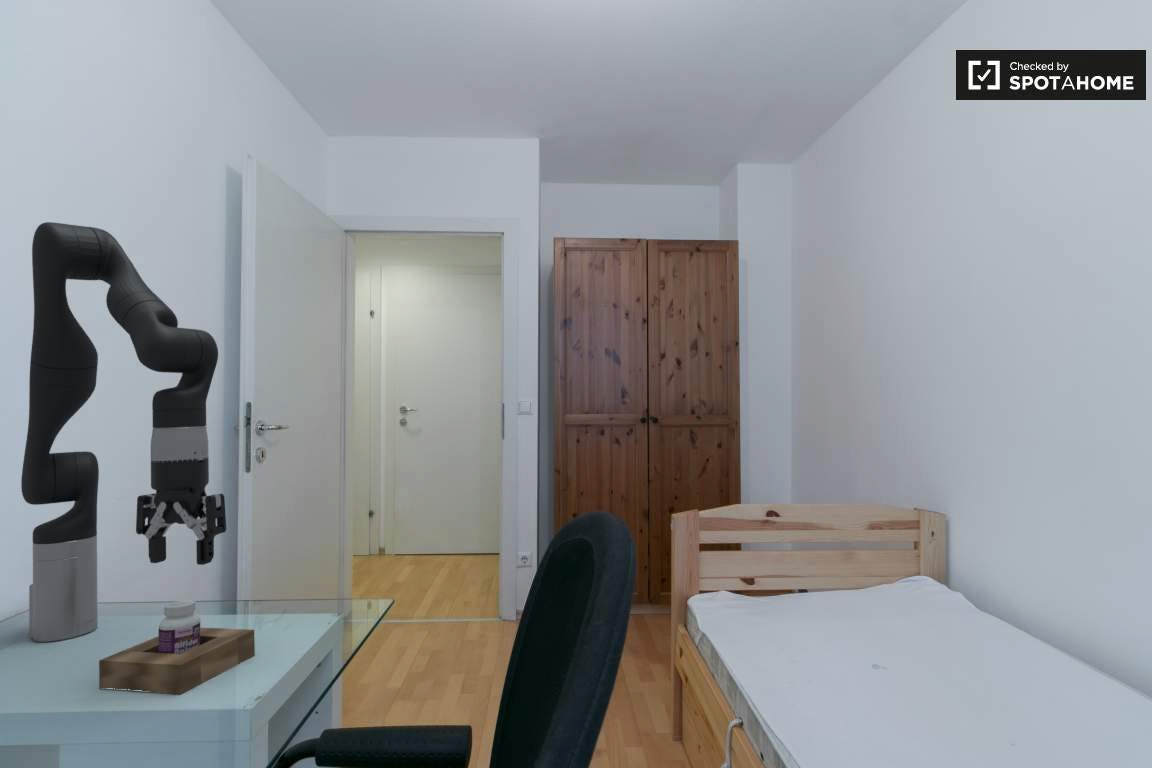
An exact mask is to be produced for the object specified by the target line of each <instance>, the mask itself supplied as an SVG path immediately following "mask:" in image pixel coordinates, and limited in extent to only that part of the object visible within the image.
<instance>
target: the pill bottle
mask: <svg viewBox="0 0 1152 768" xmlns="http://www.w3.org/2000/svg"><path fill="white" fill-rule="evenodd" d="M195 610H196V601H195V600H192V599H190V600H189V599H188V600H186V599H185V600H179V601H173V602H170V603H167V604H165V605H164V610H163V611H164V612H163V615H164V617H165V618H164V619H162V620H161V621H160V623H159V625H158V636H159V637H158V636H157V637H158V653H168V654H182V653H184V652H186V651H189V650H191V649H193V648H195V647H197V646H200V628H201V617H200V616H199V615H198V614H197V613H195Z"/></svg>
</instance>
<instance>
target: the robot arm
mask: <svg viewBox="0 0 1152 768" xmlns="http://www.w3.org/2000/svg"><path fill="white" fill-rule="evenodd" d="M31 246H32V249H31V258H32V261H31V262H32V263H31V264H32V287H33V330H32V340H31V351H30V365H29V384H28V385H29V388H28V389H29V391H28V392H29V393H28V395H29V399H28V400H29V401H28V402H29V403H28V406H29V409H28V424H27V434H26V441H25V449H24V455H23V462H22V463H23V464H22V471H21V480H20V481H21V484H20V486H21V494H22V498H23V500H24V501H25V502H26V503H27V504H29V505H33V506H34V505H35V506H36V505H37V506H38V505H48V504H49V505H51V504H58V503H61V504H62V503H70V502H74V503H73V506H72V507H71V508H70V509H69V510H68V511H66V512H65V513H63V514H62V515H60V516H58V517H56V518H52V519H51V520H49V521H46V522H44V523H40V524H39V525H37V526H35V527H34V528H33V529H32V530H33V531H32V583H31V584H30V585H29V587H28V588H29V589H28V595H29V596H28V599H29V600H28V603H29V604H28V607H29V608H28V610H29V611H28V614H29V615H28V618H29V619H28V620H29V625H28V627H29V628H28V630H29V632H28V633H29V634H28V635H29V636H28V637H29V638H30V639H32V640H33V641H34V642H39V643H40V642H41V643H43V642H56V641H61V640H67V639H71V638H75V637H79V636H81V635H82V636H83V635H85V634H88V633H91V632H93V631H95V630H96V629H97V628H98V494H99V477H100V476H99V475H100V474H99V473H100V471H99V470H100V469H99V461H98V459H97V456H96V455H95V454H94V453H93V452H92V451H87V450H86V451H84V450H83V451H69V452H68V451H66V452H53V453H52V452H51V450H52V446H53V444H54V442H55V440H56V438H57V436H58V435H59V433H60V432H61V430H62V429H63V428H64V426H65V425H66V424H67V423H68V422H69V420H70V419H71V418H72V417H74V416H75V414H76V413H78V412H79V410H80V409H81V408H82V407H83V406H84V405H85V404H86V403H87V402H88V400H89V399H90V398H91V396H92V395H93V393H94V392H95V390H96V386H97V375H98V365H99V364H98V363H99V355H98V351H97V348H96V346H95V345H94V343H93V342H92V339H91V338H90V337H89V335H88V333H86V331H85V330H84V328H83V327H82V326H81V324H80V323H79V322H78V320H77V319H76V317H75V315H74V314H73V312H72V311H71V310H72V309H71V308H70V304H69V303H68V302H69V301H68V297H67V288H66V285H67V280H75V281H76V280H77V281H102V282H104V283H107V285H109V288H108V290H107V293H106V299H105V300H106V301H105V303H106V308H107V309H108V312H109V314H110V315H111V317H112V318H113V319H114V320H115V321H116V323H117V324H119V326H120V327H121V328H122V330H124V331H125V332H126V333H127V334H128V335H129V337H130V340H131V342H132V345H133V348H134V351H135V353H136V356H137V359H138V360H139V363H141V364H142V365H143V366H144V368H145V367H146V368H147V369H149V370H151V371H154V372H156V373H167V374H168V373H173V374H174V373H175V374H176V373H177V374H181V377H180V380H178V381H179V382H178V383H177V385H176V386H174V387H169V388H164V389H159V390H158V391H156V392H155V393H154V394H153V396H152V401H151V402H152V405H151V406H152V408H151V409H152V433H151V438H150V487H151V489H153V490H155V493H147V494H142V495H139V496H137V500H136V503H137V504H136V517H135V518H136V520H135V522H136V523H135V533H136V534H137V535H143V536H145V538H146V539H147V541H148V558H149V563H151V564H158V563H161V562H164V561H166V560H167V536H165V534H166V533H167V532H168V530H169V528H170V527H171V526H172V525H174V524H179V525H185V526H186V527H187V528H188V529H190V530H192V532H193V533H194V534H195V536H196V537H197V539H198V540H195V541H196V564H197V565H198V566H199V565H200V566H204V565H207V564H209V563H211V562H212V561H213V559H214V557H215V537H217V535H219V534H223V533H225V532H226V531H227V516H226V504H225V503H226V501H225V495H224V494H223V493H215V494H210V495H207V493H206V487H207V485H208V484H209V483H210V477H209V475H210V473H209V472H210V471H209V469H210V468H209V466H210V463H209V462H210V460H209V459H210V458H209V436H208V431H207V399H208V395H209V393H210V388H211V384H212V381H213V378H214V373H215V371H216V367H217V364H218V359H219V348H218V345H217V343H216V340H215V338H214V337H213V336H212V335H211V334H210V333H209V332H208V331H206V330H202V329H195V328H187V327H185V328H184V327H178V325H179V321H178V318H177V316H176V314H175V313H174V311H173V310H172V309H171V308H170V307H169V306H168V305H167V304H166V303H165V302H164V301H163V300H162V299H161V298H160V297H159V296H158V295H156V293H155V292H153V291H152V290H151V288H150V287H149V286H148V285H147V284H146V283H145V281H144V279H143V278H142V277H141V275H140V273H139V272H138V271H137V269H136V267H135V266H134V264H133V262H132V261H131V259H130V258H129V256H128V255H127V253H126V252H125V250H124V249H123V247H122V245H121V244H120V243H119V241H118V240H117V239H116V238H115V236H114V235H112V234H111V233H109V232H108V231H106V230H104V229H102V228H97V227H94V226H93V227H92V226H83V225H77V224H68V223H60V222H52V221H51V222H50V221H47V222H43V223H41V224H39V225H38V226H37V228H36V230H35V231H34V234H33V238H32V245H31ZM50 452H51V453H50ZM146 519H147V524H146Z"/></svg>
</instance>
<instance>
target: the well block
mask: <svg viewBox="0 0 1152 768" xmlns="http://www.w3.org/2000/svg"><path fill="white" fill-rule="evenodd" d="M158 637H159V635H158V636H156V637H153V638H151V639H149V640H146V641H144V642H141V643H139V644H135V645H133V646H131V647H129V648H126V649H124V650H121V651H119V652H117V653H114V654H111V655H109V656H106V657H104V658H101V659H100V660H98V670H99V671H98V673H99V675H98V678H99V679H98V682H99V684H98V685H99V687H98V688H113V689H114V688H115V689H127V690H128V689H130V690H142V691H150V692H159V693H158V694H164V693H167V694H166V695H182V694H184V693H186V692H188V691H191V690H192V689H194V688H196V687H197V686H200V685H202V684H203V683H205V682H207V681H209V680H211V679H213V678H215V677H217V676H218V675H220V674H222V673H224V672H225V671H226V672H227V671H228V670H230V669H232V668H234V667H235V666H237V665H239V664H241V663H243V662H245V661H247V660H249V659H250V658H253V657H254V656H255V654H256V653H255V652H256V651H255V650H256V649H255V648H256V647H255V646H256V645H255V644H256V643H255V641H256V640H255V629H247V628H246V629H243V628H223V627H222V628H221V627H200V646H197V647H195V648H193V649H191V650H189V651H186V652H184V653H182V654H168V653H158ZM150 692H149V693H150Z"/></svg>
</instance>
